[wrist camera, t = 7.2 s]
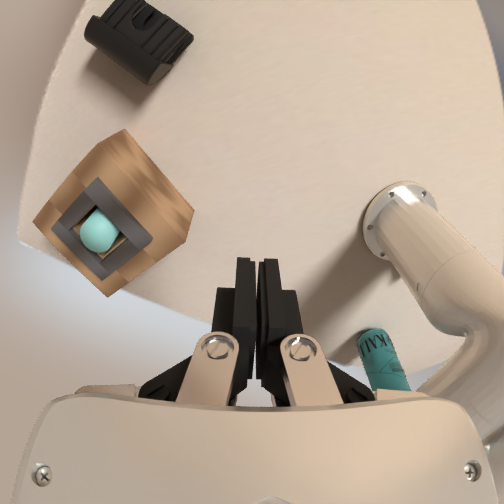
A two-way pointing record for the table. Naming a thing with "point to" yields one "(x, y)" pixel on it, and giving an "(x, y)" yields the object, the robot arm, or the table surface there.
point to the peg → (98, 232)
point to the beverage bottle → (381, 361)
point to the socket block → (116, 213)
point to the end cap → (138, 38)
